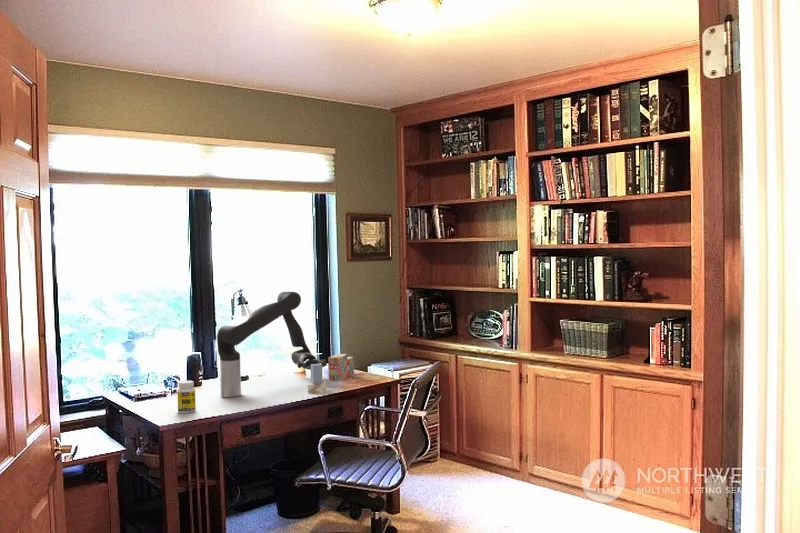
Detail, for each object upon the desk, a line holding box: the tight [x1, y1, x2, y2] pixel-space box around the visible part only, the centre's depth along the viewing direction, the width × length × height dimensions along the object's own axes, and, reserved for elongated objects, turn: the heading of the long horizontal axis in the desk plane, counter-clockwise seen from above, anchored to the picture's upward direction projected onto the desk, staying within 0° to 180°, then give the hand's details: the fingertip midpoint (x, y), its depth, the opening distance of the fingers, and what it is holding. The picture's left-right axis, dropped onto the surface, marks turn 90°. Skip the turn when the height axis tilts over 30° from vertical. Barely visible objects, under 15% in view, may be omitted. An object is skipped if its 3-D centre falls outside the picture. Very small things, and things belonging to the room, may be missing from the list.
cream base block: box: [307, 381, 327, 395], centre depth 315 cm, size 8×8×4 cm
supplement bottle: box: [177, 380, 196, 414], centre depth 281 cm, size 7×7×13 cm
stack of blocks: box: [327, 353, 355, 381], centre depth 352 cm, size 21×6×12 cm, turn 163°
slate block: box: [310, 363, 323, 384], centre depth 315 cm, size 4×4×9 cm
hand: (314, 365), depth 318 cm, fingers open, 8 cm apart
